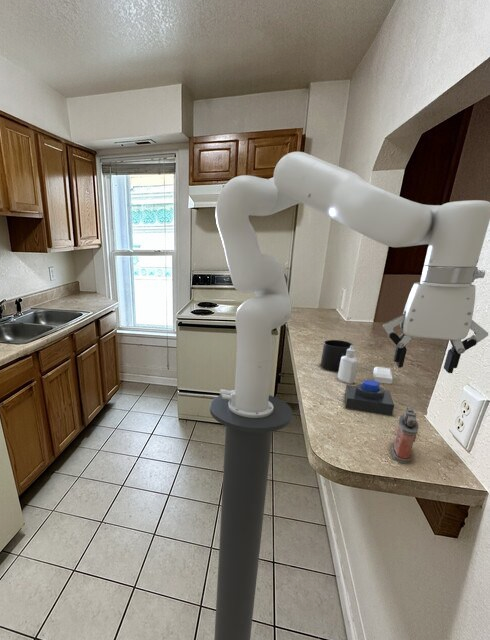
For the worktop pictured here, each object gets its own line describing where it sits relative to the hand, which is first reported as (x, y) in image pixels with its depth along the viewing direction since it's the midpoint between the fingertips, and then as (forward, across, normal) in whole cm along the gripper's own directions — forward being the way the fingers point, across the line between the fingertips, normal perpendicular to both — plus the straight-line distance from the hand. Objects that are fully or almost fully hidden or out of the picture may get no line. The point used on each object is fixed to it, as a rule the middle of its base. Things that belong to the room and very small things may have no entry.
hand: (422, 367), depth 70 cm
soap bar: (+20, -1, -48) cm, 52 cm away
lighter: (+20, 0, 0) cm, 20 cm away
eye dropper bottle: (+20, +10, -41) cm, 47 cm away
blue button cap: (+15, +5, -24) cm, 29 cm away
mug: (+20, +13, -52) cm, 57 cm away
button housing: (+20, +5, -24) cm, 32 cm away
